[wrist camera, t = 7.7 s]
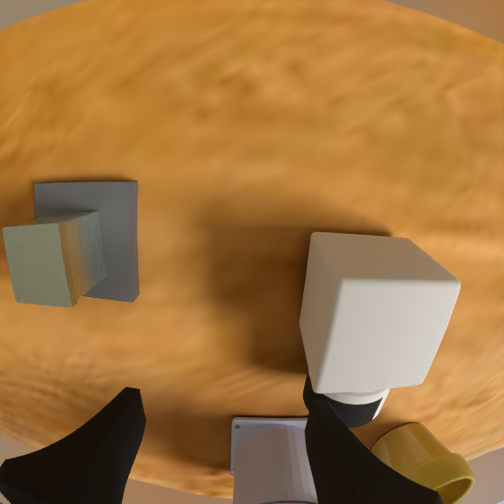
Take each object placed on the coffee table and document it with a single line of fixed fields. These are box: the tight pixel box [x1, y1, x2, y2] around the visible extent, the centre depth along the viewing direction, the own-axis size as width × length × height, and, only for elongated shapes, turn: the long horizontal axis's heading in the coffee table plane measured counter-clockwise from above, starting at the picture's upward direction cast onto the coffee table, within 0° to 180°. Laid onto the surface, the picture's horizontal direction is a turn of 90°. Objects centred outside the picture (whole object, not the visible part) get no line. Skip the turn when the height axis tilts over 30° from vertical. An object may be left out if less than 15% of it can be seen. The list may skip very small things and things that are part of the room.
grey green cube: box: [2, 211, 107, 307], centre depth 17 cm, size 5×5×5 cm
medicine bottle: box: [299, 232, 461, 428], centre depth 18 cm, size 7×7×12 cm
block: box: [34, 181, 139, 302], centre depth 20 cm, size 8×8×2 cm
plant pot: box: [371, 423, 475, 504], centre depth 22 cm, size 10×10×10 cm
